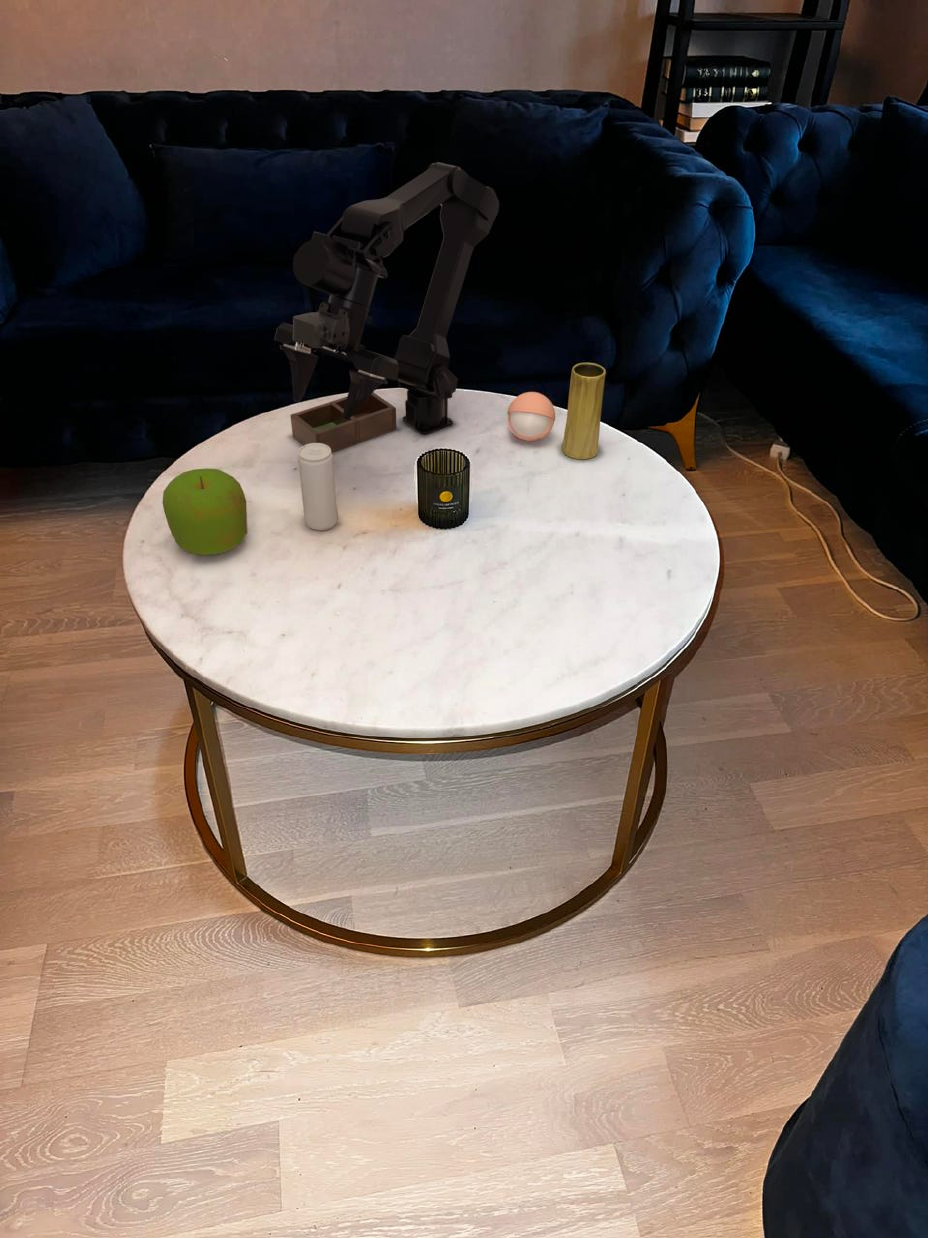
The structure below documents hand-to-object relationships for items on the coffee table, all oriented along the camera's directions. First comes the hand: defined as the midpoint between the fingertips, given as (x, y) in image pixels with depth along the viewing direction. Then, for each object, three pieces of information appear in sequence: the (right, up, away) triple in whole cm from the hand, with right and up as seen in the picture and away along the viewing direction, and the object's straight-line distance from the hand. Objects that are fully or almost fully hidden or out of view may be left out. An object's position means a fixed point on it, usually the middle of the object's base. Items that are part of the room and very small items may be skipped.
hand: (320, 410), depth 136 cm
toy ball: (+32, 0, +22) cm, 39 cm away
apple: (-15, -19, -2) cm, 25 cm away
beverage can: (0, -16, +2) cm, 16 cm away
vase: (+40, -2, +20) cm, 44 cm away
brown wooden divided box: (+1, +1, +22) cm, 22 cm away
